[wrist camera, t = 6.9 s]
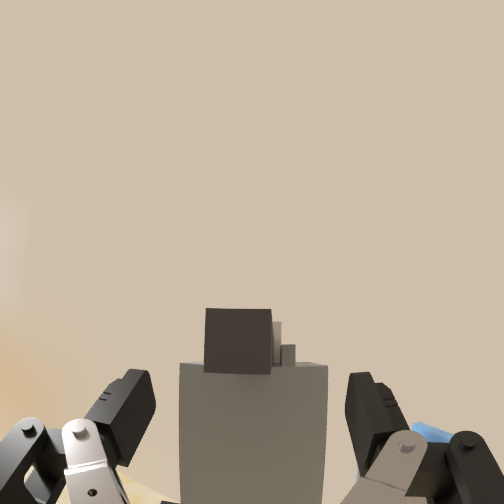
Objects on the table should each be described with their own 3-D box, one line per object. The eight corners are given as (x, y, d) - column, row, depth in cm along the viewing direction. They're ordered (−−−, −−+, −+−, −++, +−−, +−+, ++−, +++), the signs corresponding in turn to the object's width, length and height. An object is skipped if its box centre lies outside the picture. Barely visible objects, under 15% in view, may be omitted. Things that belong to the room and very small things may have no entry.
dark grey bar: (288, 374, 12) (288, 274, 13) (186, 371, 12) (191, 274, 13) (280, 362, 32) (280, 325, 34) (242, 362, 33) (243, 325, 34)
